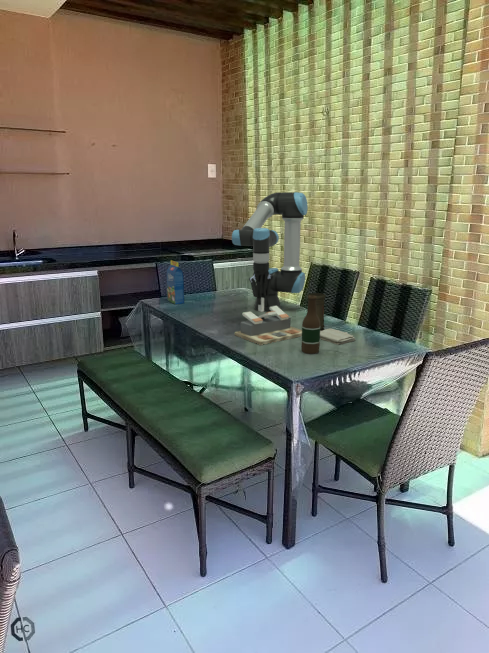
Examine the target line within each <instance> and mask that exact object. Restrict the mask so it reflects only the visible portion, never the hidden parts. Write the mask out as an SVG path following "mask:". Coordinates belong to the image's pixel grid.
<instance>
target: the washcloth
mask: <svg viewBox="0 0 489 653" xmlns="http://www.w3.org/2000/svg"><path fill="white" fill-rule="evenodd" d="M324 329H325V330H323V331H320V340H321V341H325V342H328V343H331V344H334V345H338V346H339V345H345V344H348V343H352V342H355V341H356V338H355V337H354V335H351V334H349V333H348V332H346V331H345V332H344V331H341V330H339V329H333V328H324Z"/></svg>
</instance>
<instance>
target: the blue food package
mask: <svg viewBox="0 0 489 653" xmlns="http://www.w3.org/2000/svg"><path fill="white" fill-rule="evenodd" d="M184 276H185V275H184V272H183V270H182V269H181V268H180V267H179V262H178V261H174V260H172V259H171V260H170V264H169V266H168V268H167V269H166V291H167V293H166V294H167V296H166V297H167V302H170V303H171V304H173V305H181V304H185V285H184V284H185V280H184V278H185V277H184Z"/></svg>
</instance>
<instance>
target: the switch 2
mask: <svg viewBox="0 0 489 653" xmlns="http://www.w3.org/2000/svg"><path fill="white" fill-rule="evenodd" d="M269 309H270V310H271V311H276V314H274V316H277V317H278V318H279V319H280V320H286V319H289V318H290V316H289V315H288V314H287V313H286V312H285V311H283V310H282V308H281V309H280V308H279V307H278V306H272V307H270V308H269Z"/></svg>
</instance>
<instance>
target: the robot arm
mask: <svg viewBox="0 0 489 653" xmlns="http://www.w3.org/2000/svg"><path fill="white" fill-rule="evenodd" d="M307 213H308V200H307V196H306V195H305V193H304V192H297V191H295V192H293V191H292V192H291V191H290V192H284V191H283V192H280V191H279V192H278V191H277V192H273V193H271V194H268V195H267V196H265V197H264V198H262V199H261V201H259V202H258V204H257V206H256V209H255V210H254V212H253V214H252V215H251V216H250V218H249V219H248V220H247V221H246V223H244V225H243V227H242V228H241V229H235V230H233V231H232V234H231V242H232V244H233V245H234V246H240V247H241V246H244V247H252V248H253V249H252V257H253V258H252V262H253V264H252V265H253V266H252V269H253V273H252V276H251V277H249V278H248V280H249V282H250V286H251V290H252V295H253V297H254V298H256V299H255V302H254V305H253V306H254V309H253V310H255V311H258V312H261V313H263V312H265V313H267V312H271V310H270V309H269V308H270V307H272V306H278V307H279V308H280V309H281V310H282V308H281V307H282V306H281V302H280V299H279V293H290V294H299V293H301V292H302V291H303V289H304V286H305V282H306V273H305V272H303V268H302V267H301V266H300V258H301V257H300V256H301V253H300V252H301V247H300V246H301V226H302V225H301V222H302V221H303V219H304V216H306V215H307ZM273 215H279V216H280V215H281V219H282V220H283V221H284V232H283V233H284V236H283V238H284V239H283V240H284V241H283V266H282V267H281V268H280V270H279V268H278V267H270V262H269V261H270V247H274V246H275V245H277V243H278V242H279V240H280V239H279V238H280V237H279V234H278V232H277V231H275V230H273V229H268V228H267V227H263V226H264V224H265V223H266V222H267V221H268V219H269V218H271V217H272V216H273Z"/></svg>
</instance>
